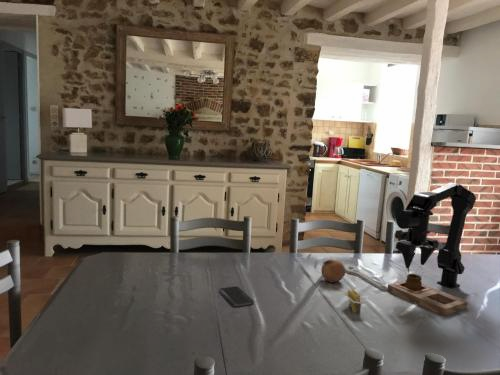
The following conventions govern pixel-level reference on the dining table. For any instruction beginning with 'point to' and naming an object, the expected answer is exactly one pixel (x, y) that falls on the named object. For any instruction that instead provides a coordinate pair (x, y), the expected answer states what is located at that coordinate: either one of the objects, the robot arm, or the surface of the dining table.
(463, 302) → the double window frame
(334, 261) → the onion
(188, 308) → the dining table surface
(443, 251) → the robot arm
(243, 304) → the phone
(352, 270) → the adjustable wrench
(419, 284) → the utensil holder
